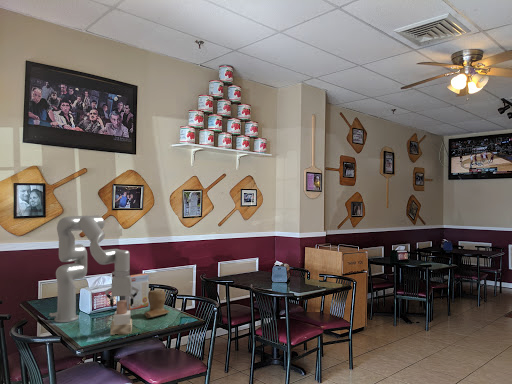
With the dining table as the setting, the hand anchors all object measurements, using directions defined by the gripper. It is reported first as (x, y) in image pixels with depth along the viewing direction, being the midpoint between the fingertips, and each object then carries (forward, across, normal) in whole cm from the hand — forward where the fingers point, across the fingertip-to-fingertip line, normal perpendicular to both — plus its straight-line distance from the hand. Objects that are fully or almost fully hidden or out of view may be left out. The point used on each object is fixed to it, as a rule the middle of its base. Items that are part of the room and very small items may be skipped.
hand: (121, 306), depth 216 cm
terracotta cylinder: (+3, 0, 0) cm, 3 cm away
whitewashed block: (+8, 0, 0) cm, 9 cm away
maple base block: (+14, 0, 0) cm, 14 cm away
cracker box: (+13, +5, +46) cm, 48 cm away
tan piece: (+13, +17, +26) cm, 34 cm away
